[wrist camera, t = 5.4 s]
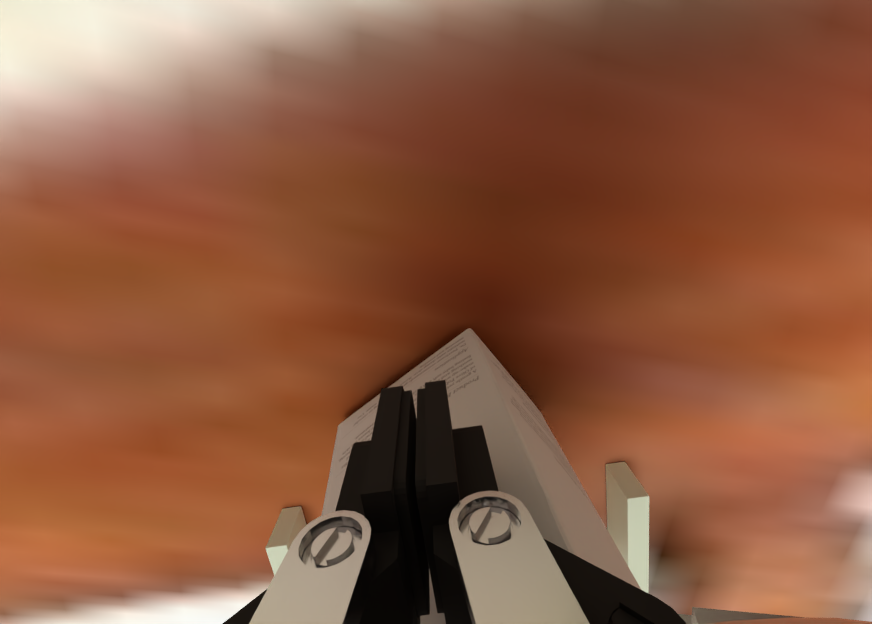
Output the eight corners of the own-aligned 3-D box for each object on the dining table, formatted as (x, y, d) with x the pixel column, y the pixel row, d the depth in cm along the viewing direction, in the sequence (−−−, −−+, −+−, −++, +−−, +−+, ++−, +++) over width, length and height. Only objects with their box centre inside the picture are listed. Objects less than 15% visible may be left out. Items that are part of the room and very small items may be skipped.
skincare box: (414, 496, 22) (453, 1144, 8) (327, 417, 20) (161, 1131, 6) (548, 409, 21) (884, 997, 7) (471, 313, 19) (735, 901, 4)
